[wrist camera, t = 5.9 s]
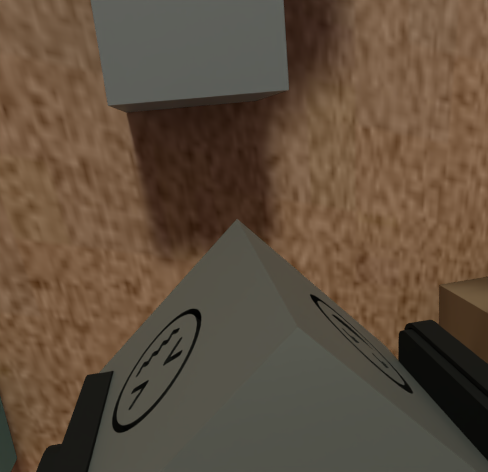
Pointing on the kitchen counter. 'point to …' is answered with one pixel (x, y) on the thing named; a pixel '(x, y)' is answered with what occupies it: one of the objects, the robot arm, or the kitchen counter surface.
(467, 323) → the walnut block
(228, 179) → the kitchen counter surface
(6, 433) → the teal block
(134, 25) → the light gray cube
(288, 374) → the dice cube
